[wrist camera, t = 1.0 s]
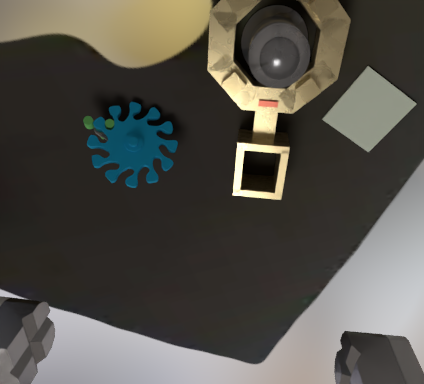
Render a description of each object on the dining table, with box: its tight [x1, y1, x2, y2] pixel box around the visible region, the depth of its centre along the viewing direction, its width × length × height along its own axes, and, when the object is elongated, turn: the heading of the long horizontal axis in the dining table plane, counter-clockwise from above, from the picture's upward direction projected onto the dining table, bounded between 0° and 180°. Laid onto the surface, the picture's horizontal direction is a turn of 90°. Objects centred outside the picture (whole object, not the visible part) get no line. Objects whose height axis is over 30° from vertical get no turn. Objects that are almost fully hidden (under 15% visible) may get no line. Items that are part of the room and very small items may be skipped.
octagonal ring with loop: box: [208, 0, 351, 200], centre depth 38 cm, size 23×13×4 cm, turn 177°
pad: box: [322, 66, 416, 152], centre depth 40 cm, size 7×7×1 cm
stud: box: [241, 5, 310, 88], centre depth 33 cm, size 7×7×10 cm
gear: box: [83, 102, 178, 188], centre depth 43 cm, size 11×6×10 cm
